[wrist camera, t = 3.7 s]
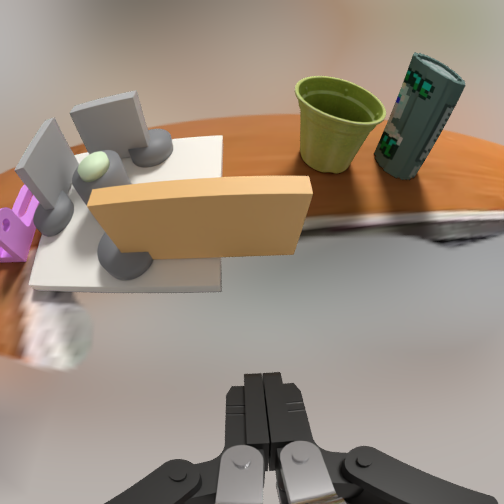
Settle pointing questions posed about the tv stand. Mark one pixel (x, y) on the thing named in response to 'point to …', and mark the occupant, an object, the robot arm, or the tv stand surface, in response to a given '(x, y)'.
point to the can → (418, 116)
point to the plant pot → (334, 121)
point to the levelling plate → (86, 235)
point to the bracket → (17, 227)
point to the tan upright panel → (198, 220)
